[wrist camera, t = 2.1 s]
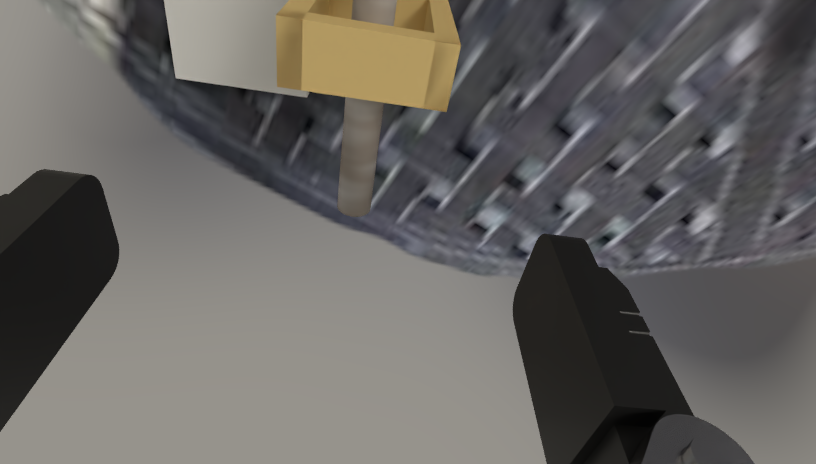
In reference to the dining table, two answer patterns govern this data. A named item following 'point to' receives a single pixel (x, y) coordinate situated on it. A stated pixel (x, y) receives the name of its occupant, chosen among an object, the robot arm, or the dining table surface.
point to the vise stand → (362, 127)
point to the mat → (226, 42)
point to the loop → (369, 52)
